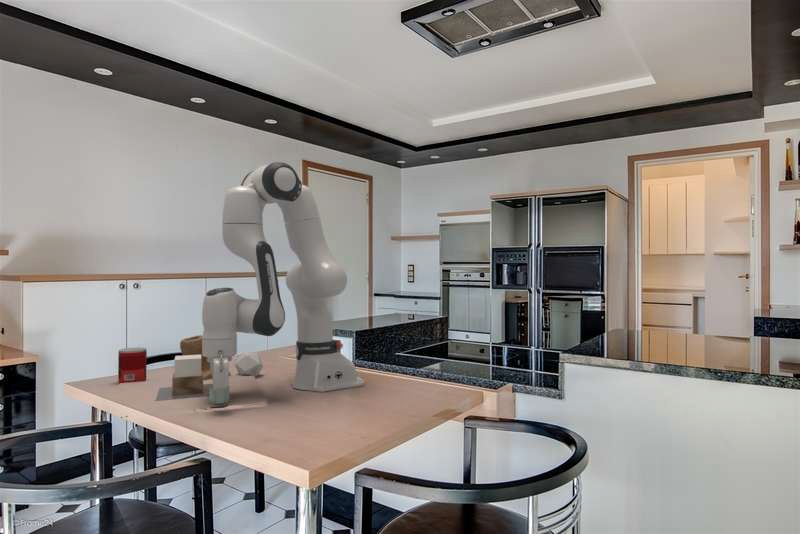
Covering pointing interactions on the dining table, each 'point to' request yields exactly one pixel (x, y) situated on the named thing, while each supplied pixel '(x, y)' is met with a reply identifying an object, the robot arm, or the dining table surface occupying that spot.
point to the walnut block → (187, 385)
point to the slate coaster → (167, 395)
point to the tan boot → (196, 353)
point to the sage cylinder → (213, 397)
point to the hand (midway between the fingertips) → (219, 399)
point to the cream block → (187, 366)
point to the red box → (132, 365)
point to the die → (249, 364)
